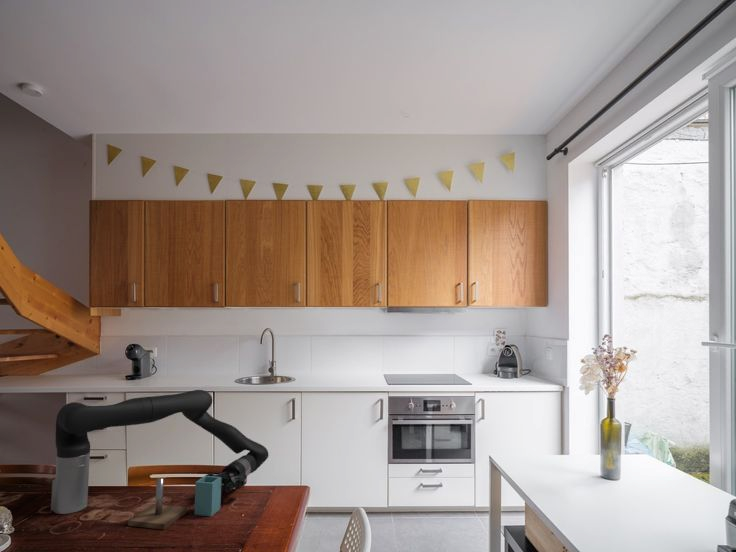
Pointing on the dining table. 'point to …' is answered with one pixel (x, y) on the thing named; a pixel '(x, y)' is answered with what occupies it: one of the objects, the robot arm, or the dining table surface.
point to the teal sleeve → (207, 496)
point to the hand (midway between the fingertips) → (214, 488)
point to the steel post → (159, 496)
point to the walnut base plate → (157, 517)
